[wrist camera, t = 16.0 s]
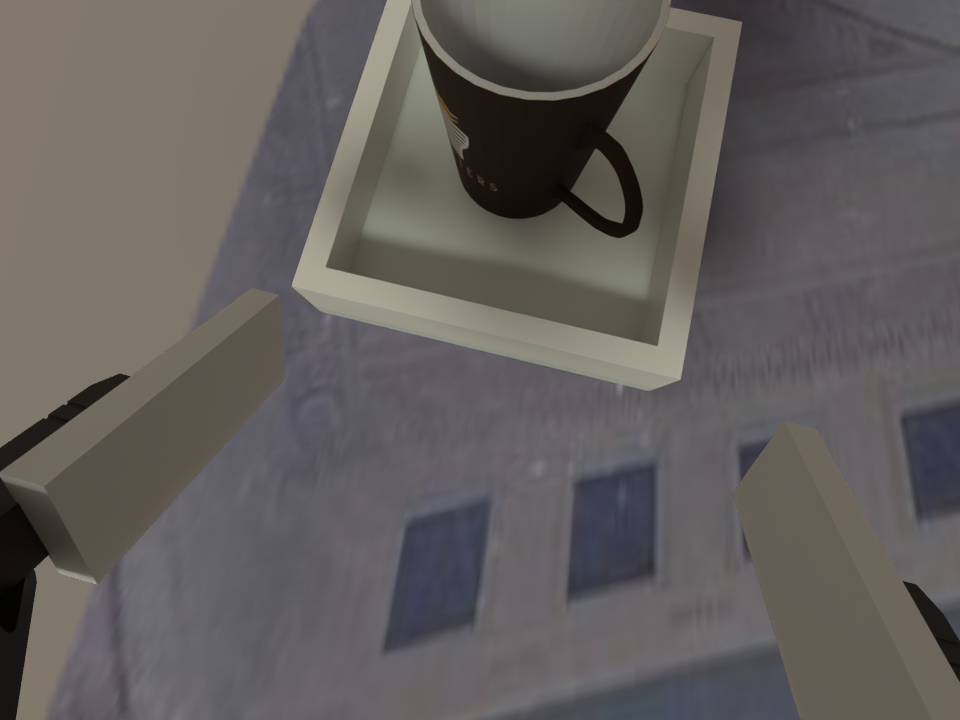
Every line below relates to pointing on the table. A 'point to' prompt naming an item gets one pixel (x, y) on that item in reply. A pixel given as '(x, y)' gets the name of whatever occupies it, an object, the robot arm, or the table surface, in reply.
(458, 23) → the coffee mug
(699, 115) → the white storage tray
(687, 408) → the table surface
